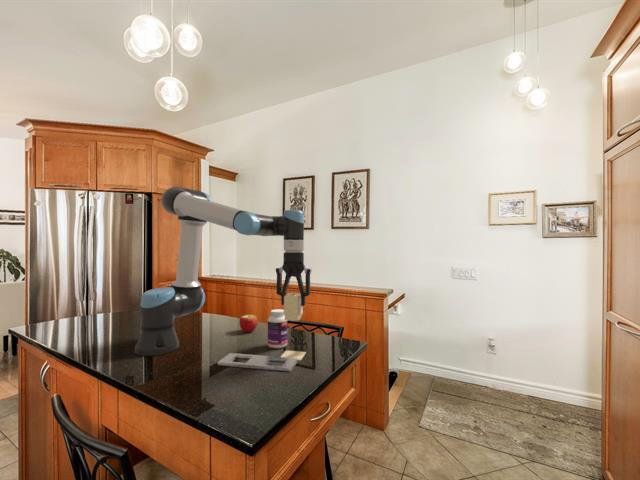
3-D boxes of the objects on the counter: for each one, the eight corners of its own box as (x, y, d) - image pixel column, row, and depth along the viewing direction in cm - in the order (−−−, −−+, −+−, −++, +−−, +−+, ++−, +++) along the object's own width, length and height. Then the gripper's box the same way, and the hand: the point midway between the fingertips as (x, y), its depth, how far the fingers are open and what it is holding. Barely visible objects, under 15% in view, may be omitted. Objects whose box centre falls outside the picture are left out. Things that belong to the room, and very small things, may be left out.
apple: (261, 330, 146) (261, 309, 147) (248, 335, 139) (248, 313, 139) (248, 328, 151) (249, 307, 151) (235, 332, 144) (235, 310, 144)
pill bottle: (283, 350, 120) (284, 313, 121) (264, 348, 122) (264, 312, 122) (289, 343, 128) (290, 309, 128) (271, 342, 130) (271, 308, 130)
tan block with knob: (288, 316, 117) (288, 293, 117) (301, 317, 116) (301, 293, 116) (284, 320, 112) (284, 295, 112) (297, 320, 111) (298, 296, 111)
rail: (217, 365, 105) (217, 362, 105) (230, 355, 114) (230, 352, 114) (290, 371, 100) (290, 368, 100) (297, 361, 109) (297, 358, 109)
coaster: (279, 359, 111) (279, 358, 111) (285, 351, 119) (285, 350, 119) (300, 360, 110) (300, 359, 110) (305, 353, 117) (305, 351, 117)
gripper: (267, 251, 112) (266, 315, 112) (315, 252, 109) (314, 317, 109) (274, 251, 120) (273, 310, 120) (319, 251, 116) (318, 313, 116)
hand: (293, 314), depth 114 cm, fingers closed on tan block with knob, 5 cm apart
